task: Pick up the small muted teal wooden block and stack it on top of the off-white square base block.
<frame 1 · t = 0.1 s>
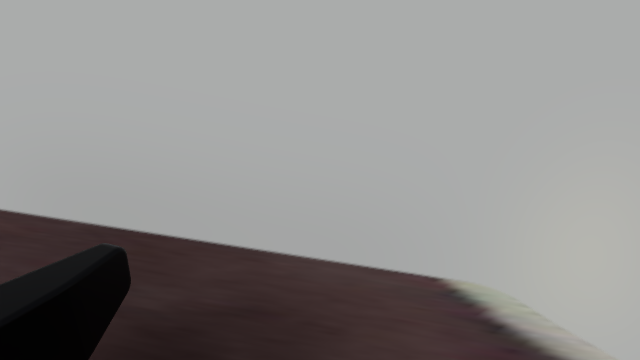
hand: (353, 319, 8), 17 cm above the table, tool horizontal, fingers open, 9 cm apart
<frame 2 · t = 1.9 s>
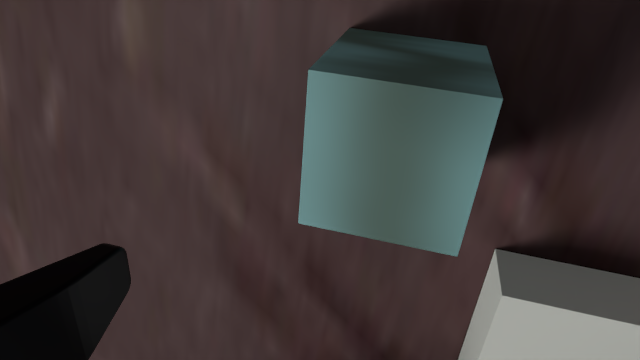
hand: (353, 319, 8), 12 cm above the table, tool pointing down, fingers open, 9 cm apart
teal block: (405, 100, 18), on the table
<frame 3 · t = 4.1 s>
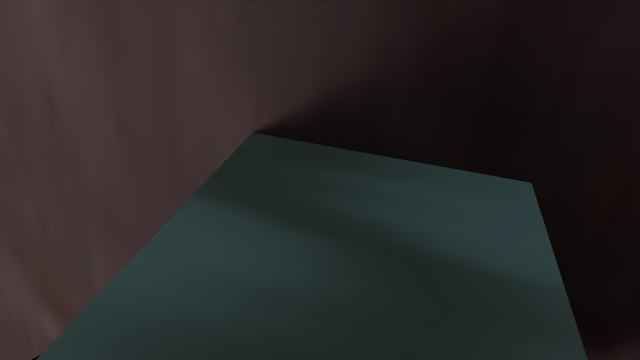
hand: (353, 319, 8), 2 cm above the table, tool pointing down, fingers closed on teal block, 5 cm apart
teal block: (366, 264, 9), on the table, touching gripper
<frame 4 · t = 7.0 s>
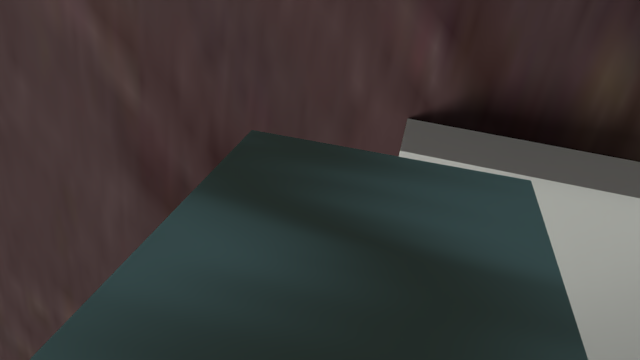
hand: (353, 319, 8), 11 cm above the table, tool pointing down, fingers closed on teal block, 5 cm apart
base block: (517, 271, 20), on the table
teal block: (365, 262, 9), point 10 cm above the table, touching gripper
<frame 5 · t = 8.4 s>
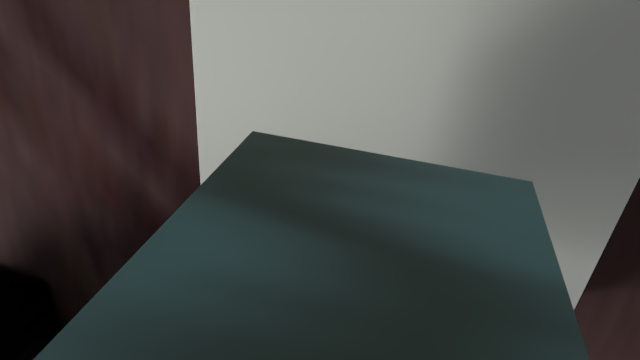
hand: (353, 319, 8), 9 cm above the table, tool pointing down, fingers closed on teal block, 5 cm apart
base block: (402, 130, 16), on the table
teal block: (366, 263, 9), point 7 cm above the table, touching gripper
when the fingers open (5 cm above the table, at t = 9.9 s): teal block stays where it is, resting on base block.
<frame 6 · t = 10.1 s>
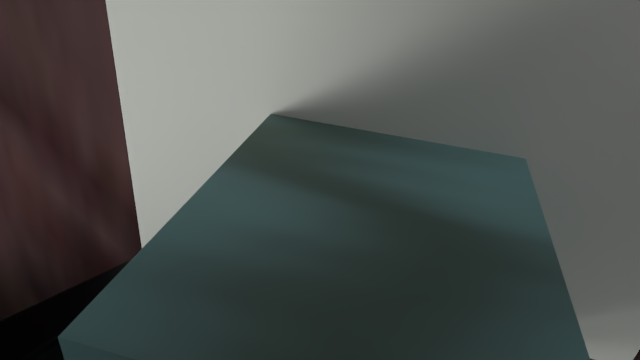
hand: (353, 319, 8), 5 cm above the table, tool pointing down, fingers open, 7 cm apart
base block: (389, 175, 13), on the table
teal block: (373, 237, 10), point 3 cm above the table, touching base block
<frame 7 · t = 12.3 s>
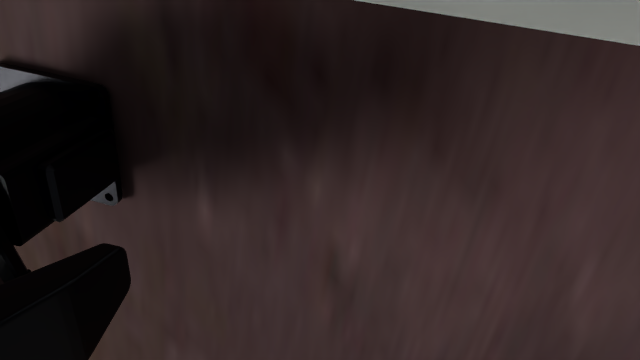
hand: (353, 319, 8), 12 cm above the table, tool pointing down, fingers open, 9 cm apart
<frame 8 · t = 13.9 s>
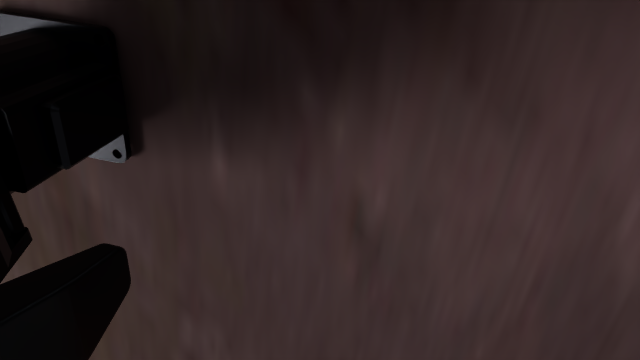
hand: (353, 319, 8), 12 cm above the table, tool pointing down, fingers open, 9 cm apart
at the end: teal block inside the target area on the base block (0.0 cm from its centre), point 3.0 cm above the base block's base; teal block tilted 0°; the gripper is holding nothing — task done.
